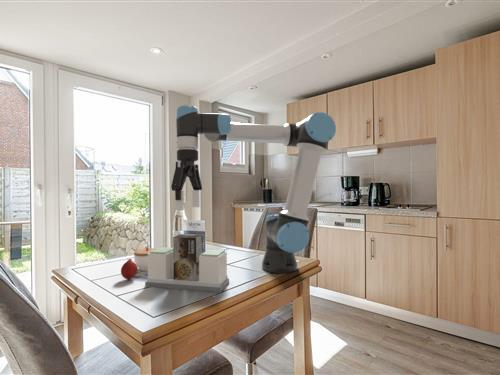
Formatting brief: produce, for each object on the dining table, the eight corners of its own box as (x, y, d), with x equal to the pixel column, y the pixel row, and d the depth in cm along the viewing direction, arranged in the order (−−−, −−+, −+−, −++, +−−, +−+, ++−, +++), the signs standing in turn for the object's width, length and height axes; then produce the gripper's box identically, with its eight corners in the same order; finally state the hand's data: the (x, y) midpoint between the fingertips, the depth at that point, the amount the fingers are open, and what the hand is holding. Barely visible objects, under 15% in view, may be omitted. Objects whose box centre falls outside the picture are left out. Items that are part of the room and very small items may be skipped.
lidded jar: (137, 273, 114) (137, 250, 114) (131, 267, 122) (131, 246, 122) (163, 269, 120) (163, 247, 120) (155, 263, 129) (155, 243, 129)
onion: (127, 283, 102) (127, 261, 102) (117, 280, 105) (117, 259, 105) (140, 279, 107) (140, 258, 107) (131, 276, 110) (131, 256, 110)
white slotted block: (229, 282, 103) (229, 249, 103) (220, 292, 93) (220, 255, 93) (160, 277, 109) (160, 246, 109) (145, 286, 99) (145, 252, 99)
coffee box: (203, 278, 103) (203, 234, 103) (196, 283, 97) (196, 237, 97) (180, 276, 105) (180, 233, 105) (172, 282, 99) (172, 236, 99)
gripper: (192, 154, 114) (192, 206, 114) (159, 145, 90) (160, 211, 90) (209, 153, 112) (210, 206, 112) (181, 144, 88) (182, 211, 88)
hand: (188, 208), depth 101 cm, fingers open, 13 cm apart
